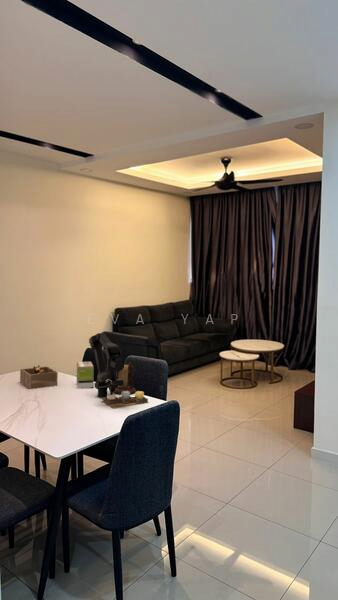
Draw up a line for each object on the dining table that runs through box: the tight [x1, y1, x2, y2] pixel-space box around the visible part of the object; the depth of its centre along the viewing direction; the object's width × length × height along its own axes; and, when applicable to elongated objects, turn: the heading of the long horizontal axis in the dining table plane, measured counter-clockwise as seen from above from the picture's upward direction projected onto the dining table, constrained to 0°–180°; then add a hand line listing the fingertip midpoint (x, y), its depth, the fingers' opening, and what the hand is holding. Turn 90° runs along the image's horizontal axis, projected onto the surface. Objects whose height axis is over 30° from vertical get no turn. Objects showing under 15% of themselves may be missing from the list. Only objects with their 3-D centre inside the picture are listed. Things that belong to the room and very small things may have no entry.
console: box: [100, 396, 149, 410], centre depth 239 cm, size 16×23×3 cm
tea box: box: [76, 361, 95, 389], centre depth 277 cm, size 15×10×15 cm, turn 17°
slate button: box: [120, 391, 131, 400], centre depth 239 cm, size 5×5×4 cm
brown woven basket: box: [113, 362, 137, 396], centre depth 260 cm, size 15×15×20 cm
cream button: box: [107, 393, 117, 400], centre depth 238 cm, size 5×5×4 cm
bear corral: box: [19, 366, 59, 390], centre depth 277 cm, size 20×18×9 cm
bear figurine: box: [32, 364, 44, 374], centre depth 278 cm, size 14×15×12 cm
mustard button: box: [134, 390, 145, 400], centre depth 240 cm, size 5×5×4 cm
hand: (111, 394), depth 238 cm, fingers closed, pressing on cream button
